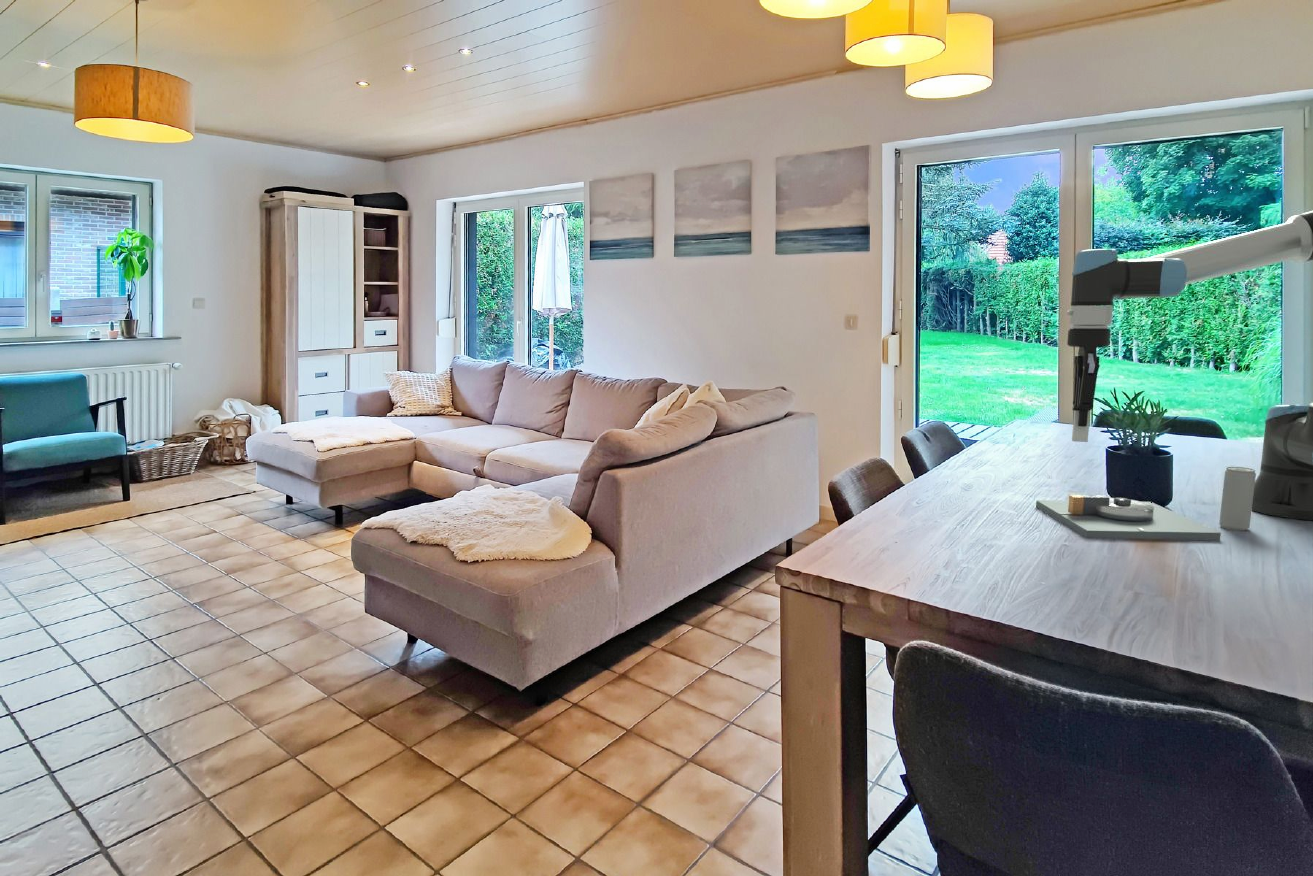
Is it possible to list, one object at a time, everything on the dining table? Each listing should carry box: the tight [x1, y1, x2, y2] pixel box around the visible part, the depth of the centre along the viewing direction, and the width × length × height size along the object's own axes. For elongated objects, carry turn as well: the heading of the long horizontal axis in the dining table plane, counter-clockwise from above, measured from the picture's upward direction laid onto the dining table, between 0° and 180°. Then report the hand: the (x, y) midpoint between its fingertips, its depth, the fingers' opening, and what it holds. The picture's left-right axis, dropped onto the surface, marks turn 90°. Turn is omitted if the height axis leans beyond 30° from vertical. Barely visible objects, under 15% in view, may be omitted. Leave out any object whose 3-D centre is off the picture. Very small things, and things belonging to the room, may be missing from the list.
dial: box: [1068, 494, 1154, 521], centre depth 154 cm, size 16×11×4 cm
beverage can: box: [1218, 466, 1257, 532], centre depth 149 cm, size 5×5×12 cm
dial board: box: [1035, 499, 1222, 541], centre depth 155 cm, size 24×24×2 cm
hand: (1079, 441), depth 158 cm, fingers closed
